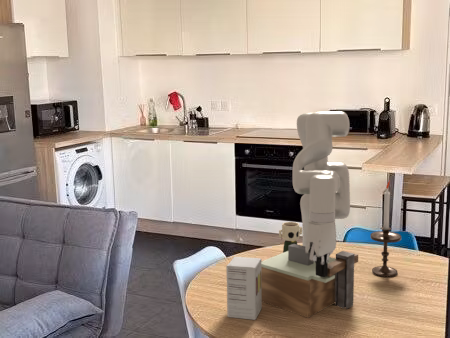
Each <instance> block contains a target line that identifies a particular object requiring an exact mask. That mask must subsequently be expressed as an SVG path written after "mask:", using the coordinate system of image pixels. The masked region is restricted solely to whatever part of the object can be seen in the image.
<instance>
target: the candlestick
mask: <svg viewBox="0 0 450 338" xmlns="http://www.w3.org/2000/svg"><path fill="white" fill-rule="evenodd" d="M390 183H391V180H390V179H389V181H388V182H387V185H386V189H385V192H383V193H384V194H383V195H384V196H383V198H384V199H383V200H384V201H383V226H382V227H380V228H379V229H380V231H379V230H378V231H373V232H371V233H370V239H371V240H373V241H375V242H379V243H383V251H381V256H382V258H381V261H382V266H381V265H379V266H375V267H373V268H372V270H371V273H372V274H373V275H374V276H377V277H381V278H392V277H393V278H394V277H396V276H397V275H398V270H397V269H396V268H394V267H390V266H388V265H387V264H388V261H389V258H388V257H389V255H390V252H388V244H389V243H391V244H392V243H398V242H400V241H402V235H401V234H399V233H398V232H394V231H391V230H392V228H391V227H390V202H391V201H390V200H391V198H390V197H391V192H390V191H389V187H390Z"/></svg>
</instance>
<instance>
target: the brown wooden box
mask: <svg viewBox="0 0 450 338" xmlns="http://www.w3.org/2000/svg"><path fill="white" fill-rule="evenodd" d="M354 254H355V253H354V252H348V251H345V250H342V251H339V252H337V253H335V259H336V260H337V259H339V258H342V259H346V268H345V269H343V270H341V271H339V272H337V273H335V274H334V275H335V278H334V279H332V280H330V281H328V282H326V283H325V282H321V281H318V280H314V279H310V280H304V279H301V278H297V277H294V276H291V275H287V274H284V273H281V272H277V271H274V270H270V269H267V268H264V267H261V281H262V303H265V304H268V305H270V306H273V307H276V308H279V309H282V310H285V311H288V312H290V313H294V314H296V315H299V316H302V317H303V318H304V317H305V318H310V317H312V316H314V315H315V314H317V313H319V312H321V311H323V310H324V309H326V308H329V307H330V306H331V305H333V304H334V307H338V308H342V309H345V310H348V309H349V308H351V307H353V306H354V295H355V293H354V292H355V291H354V290H355V289H354V288H355V264H354Z"/></svg>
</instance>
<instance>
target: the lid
mask: <svg viewBox="0 0 450 338" xmlns="http://www.w3.org/2000/svg"><path fill="white" fill-rule="evenodd" d="M335 260H336V257H330V256H329V262H328V264H329V263H331V262H333V261H335ZM261 267H264V268H267V269H270V270H274V271H277V272H281V273H284V274H287V275H291V276H294V277H297V278H301V279H304V280H310V279H314V280H318V281H321V282H325V283H326V282H328V281H330V280H332V279H334V278H335V275H333V276H331V277H329V276H325V277H321V276H317V275H316V263H315V262H314V261H311V260H310V254H306V252H305V246H303V244H302V245H300V244H298V243H297V244H292V245H289V246H288V251H286V252H284V253H283V252H281V253H279V254H277V255H274V256H271V257H269V258H267V259H264V260H261Z"/></svg>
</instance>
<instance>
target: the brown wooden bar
mask: <svg viewBox="0 0 450 338" xmlns="http://www.w3.org/2000/svg"><path fill="white" fill-rule="evenodd" d="M357 263H359V254H358V253H354V265H356V264H357ZM345 268H346V259H342V258H339V259H337V260H335V261H333V262H331V263H329V264H328V270H327V276H329V277H331V276H333V275H334V274H335V273H337V272H339V271H341V270H343V269H345Z"/></svg>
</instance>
